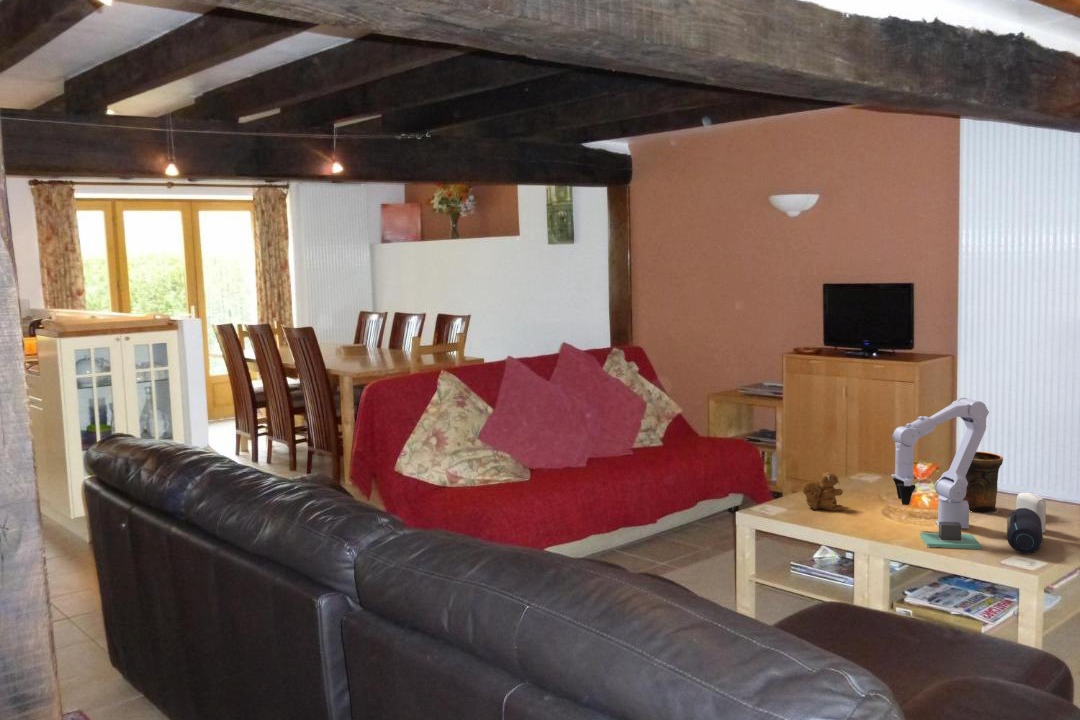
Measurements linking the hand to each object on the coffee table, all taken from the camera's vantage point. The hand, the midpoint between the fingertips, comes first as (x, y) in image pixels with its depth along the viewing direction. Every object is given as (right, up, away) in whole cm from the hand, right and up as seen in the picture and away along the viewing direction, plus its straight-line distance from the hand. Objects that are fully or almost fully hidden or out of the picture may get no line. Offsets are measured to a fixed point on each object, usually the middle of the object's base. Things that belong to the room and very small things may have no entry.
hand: (903, 501), depth 320 cm
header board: (+9, -11, -15) cm, 21 cm away
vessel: (+36, -6, +23) cm, 44 cm away
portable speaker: (+31, -11, -19) cm, 38 cm away
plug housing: (+9, -10, -15) cm, 20 cm away
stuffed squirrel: (-19, -7, +30) cm, 36 cm away
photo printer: (+41, -9, -3) cm, 42 cm away
